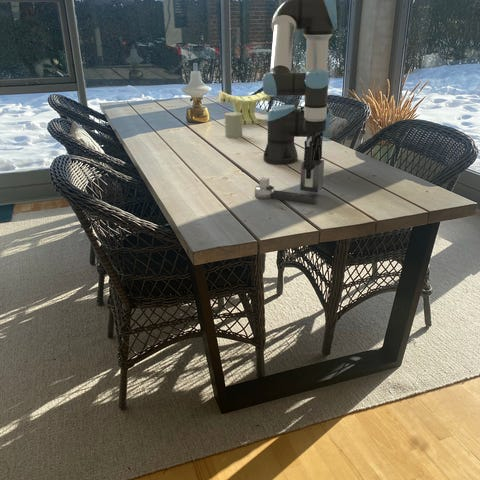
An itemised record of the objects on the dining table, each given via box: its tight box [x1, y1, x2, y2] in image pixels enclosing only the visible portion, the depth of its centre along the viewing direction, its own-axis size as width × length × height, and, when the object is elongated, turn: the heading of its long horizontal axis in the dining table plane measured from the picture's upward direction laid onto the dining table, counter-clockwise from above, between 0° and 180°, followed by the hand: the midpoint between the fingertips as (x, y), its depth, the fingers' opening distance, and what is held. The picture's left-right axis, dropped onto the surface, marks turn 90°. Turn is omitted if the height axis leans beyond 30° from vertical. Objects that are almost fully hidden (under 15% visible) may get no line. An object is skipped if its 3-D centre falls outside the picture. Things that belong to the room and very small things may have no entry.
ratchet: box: [254, 176, 318, 206], centre depth 172 cm, size 7×22×6 cm, turn 65°
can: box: [224, 111, 243, 139], centre depth 256 cm, size 9×9×12 cm
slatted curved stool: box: [218, 89, 275, 125], centre depth 288 cm, size 30×16×18 cm, turn 100°
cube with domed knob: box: [299, 159, 325, 194], centre depth 174 cm, size 6×6×10 cm
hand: (311, 183), depth 175 cm, fingers closed on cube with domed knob, 6 cm apart
